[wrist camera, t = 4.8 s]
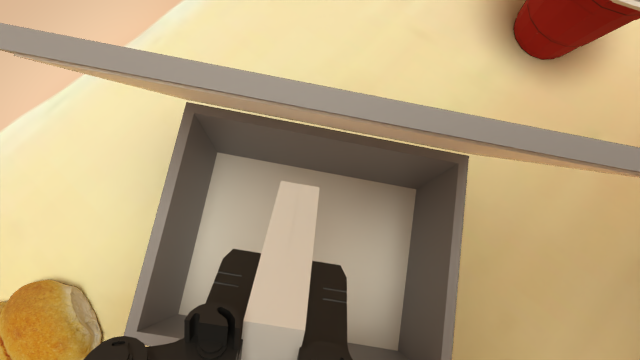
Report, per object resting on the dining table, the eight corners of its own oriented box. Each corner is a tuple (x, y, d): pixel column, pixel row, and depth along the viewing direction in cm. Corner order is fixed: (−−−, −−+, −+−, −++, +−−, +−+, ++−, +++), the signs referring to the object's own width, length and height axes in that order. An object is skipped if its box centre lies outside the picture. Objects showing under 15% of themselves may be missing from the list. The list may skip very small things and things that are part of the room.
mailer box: (421, 185, 34) (468, 155, 25) (402, 358, 31) (448, 394, 22) (213, 146, 33) (186, 102, 24) (170, 320, 30) (122, 341, 21)
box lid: (476, 155, 25) (479, 144, 24) (705, 187, 10) (713, 162, 10) (179, 98, 24) (181, 87, 24) (-20, 48, 9) (-18, 19, 9)
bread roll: (-44, 328, 29) (-96, 337, 25) (74, 264, 30) (43, 263, 26) (0, 435, 27) (-48, 462, 24) (121, 362, 29) (95, 376, 25)
